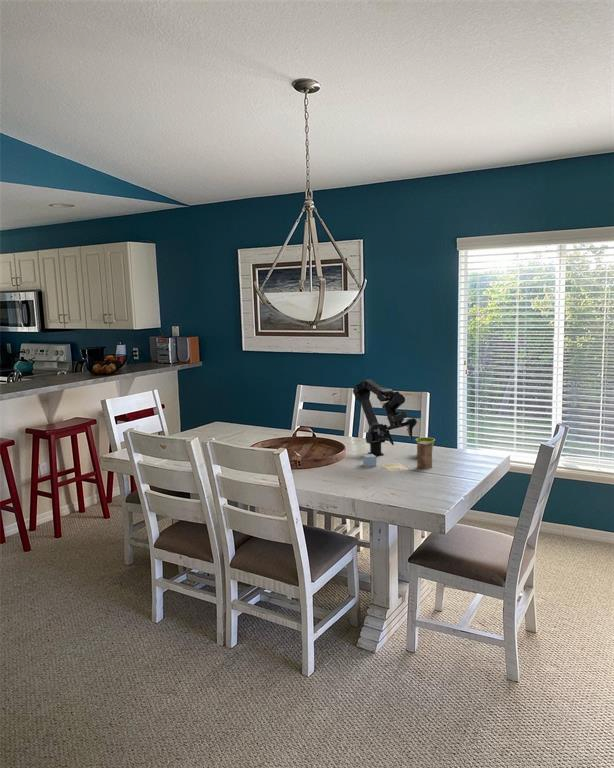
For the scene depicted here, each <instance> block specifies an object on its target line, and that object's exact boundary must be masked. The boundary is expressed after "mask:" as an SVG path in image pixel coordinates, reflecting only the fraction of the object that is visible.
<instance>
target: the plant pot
mask: <svg viewBox="0 0 614 768" xmlns="http://www.w3.org/2000/svg"><path fill="white" fill-rule="evenodd" d="M435 440H436V439H435V438H432V437H426V436H425V437H418V438H415V441H416V444H417V443H418V442H422V441H426V442H431V443H432V451H433V448H434V443H435Z"/></svg>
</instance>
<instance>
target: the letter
mask: <svg viewBox="0 0 614 768" xmlns="http://www.w3.org/2000/svg"><path fill="white" fill-rule="evenodd" d="M396 463H397V464H398V466H397V465H396ZM387 464H388V465H387ZM395 465H396V466H394V463H385V465H384V464H381V467H382V466H383V467H384V468H385V469H386V470H388V471H389V472H399V471H408V470H409V469H408V468H407V467H405V466H404V465H403V464H401V463H399V462H395ZM399 465H400V466H399Z"/></svg>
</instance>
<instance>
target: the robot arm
mask: <svg viewBox="0 0 614 768" xmlns="http://www.w3.org/2000/svg"><path fill="white" fill-rule="evenodd" d="M352 393H353V395H354V398H355V400H357V401H358V402H360V404H361V407H362V410H363V414H364V416H365V418H366V422H367V424H368V431H367V433H368V434H367V436H366V437H365V442H366V443H367V444H369V451H368V452H367V453H369V454H373V455H375V456H376V457H377V455H378V456H384V455H385V453H383V452H382V443H385V442H386V440H387V441H388V442H389V443H390V444H391V445H392V446H394V445H395V443H394V440H393V438H392V436H391V433H390V431H391V430H397V429H398V428H399V429H400V428H403V427H404V428H405V427H407V428H406V431H407V433H408V436H409V440H410V441H412V442H413V429H414V427H416V425H417V423H418V420H417V419H416V418H415V417H411V418H408V416H407V415H408V414H407V412H406V411H405V410H403V411H398V409H399V408H400V407H401V406H402V405H403V404H404V403H405V402H406V397H405V396H404V395H403V394H401V393H400V391H394V390H393V389H391V388H389V387H383V386H381V385H380V384H377V383H376V382H374V380H372V379H364V380H362V381H361V382H359V383H358V384H356V385H355V386H354V387H353V389H352ZM371 393H372V394H375V395H376V398H377V399H378V401H379V402H380V403H381V402H382V403H383V402H384V403H383V404H382V407H381V409H384V411H385V414H386V417H387V418H386V419H387V421H388V423H389V425H388V426H387V424H383V423H379V422H378V419H377V416H376V413H375V410H374V407H373V406H372V403H371V399H370V397H371ZM407 418H408V419H407ZM405 419H406V421H405V422H403V421H404V420H405Z"/></svg>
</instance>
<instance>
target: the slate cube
mask: <svg viewBox="0 0 614 768" xmlns="http://www.w3.org/2000/svg"><path fill="white" fill-rule="evenodd" d="M363 464H364V465H365V468H371V467H370V466H373V467H377V456H375V455H373V454H363V455H362V465H363Z"/></svg>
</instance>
